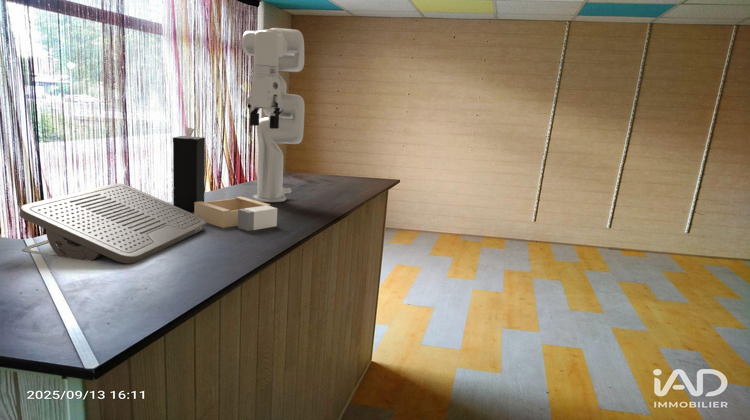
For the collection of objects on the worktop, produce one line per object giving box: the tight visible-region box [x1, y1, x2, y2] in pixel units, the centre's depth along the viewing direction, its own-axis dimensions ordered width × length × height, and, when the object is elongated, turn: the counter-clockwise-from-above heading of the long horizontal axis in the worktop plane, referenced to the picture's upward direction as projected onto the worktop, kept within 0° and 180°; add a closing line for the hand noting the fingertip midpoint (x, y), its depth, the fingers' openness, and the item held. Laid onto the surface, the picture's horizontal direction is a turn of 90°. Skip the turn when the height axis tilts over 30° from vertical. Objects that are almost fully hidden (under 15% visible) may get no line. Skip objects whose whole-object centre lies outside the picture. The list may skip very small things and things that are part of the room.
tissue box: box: [172, 126, 206, 214], centre depth 179 cm, size 8×8×28 cm
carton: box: [193, 196, 271, 229], centre depth 171 cm, size 18×15×6 cm
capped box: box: [237, 205, 278, 232], centre depth 164 cm, size 11×5×6 cm, turn 141°
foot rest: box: [18, 182, 207, 265], centre depth 140 cm, size 39×30×13 cm
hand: (264, 126), depth 172 cm, fingers open, 9 cm apart
